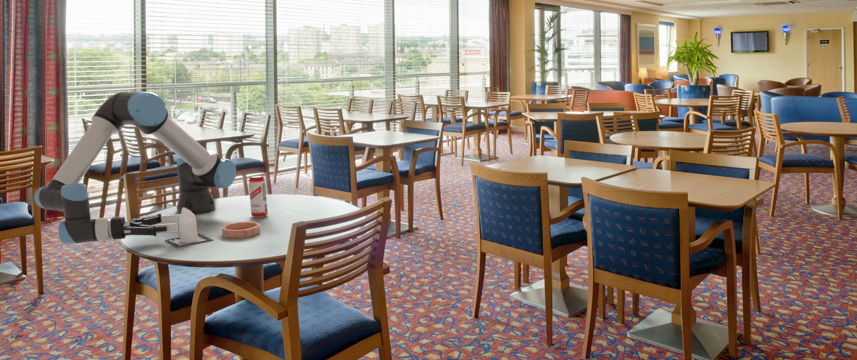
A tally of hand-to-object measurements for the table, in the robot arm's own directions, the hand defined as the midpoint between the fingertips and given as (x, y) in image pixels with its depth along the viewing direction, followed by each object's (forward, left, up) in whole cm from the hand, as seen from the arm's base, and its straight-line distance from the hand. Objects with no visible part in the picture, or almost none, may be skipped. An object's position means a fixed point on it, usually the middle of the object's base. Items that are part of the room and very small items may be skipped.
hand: (179, 222), depth 228 cm
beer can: (-14, +36, -7) cm, 40 cm away
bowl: (+6, +19, -7) cm, 21 cm away
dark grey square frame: (+1, +2, -7) cm, 7 cm away
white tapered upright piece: (+1, +2, -7) cm, 8 cm away
